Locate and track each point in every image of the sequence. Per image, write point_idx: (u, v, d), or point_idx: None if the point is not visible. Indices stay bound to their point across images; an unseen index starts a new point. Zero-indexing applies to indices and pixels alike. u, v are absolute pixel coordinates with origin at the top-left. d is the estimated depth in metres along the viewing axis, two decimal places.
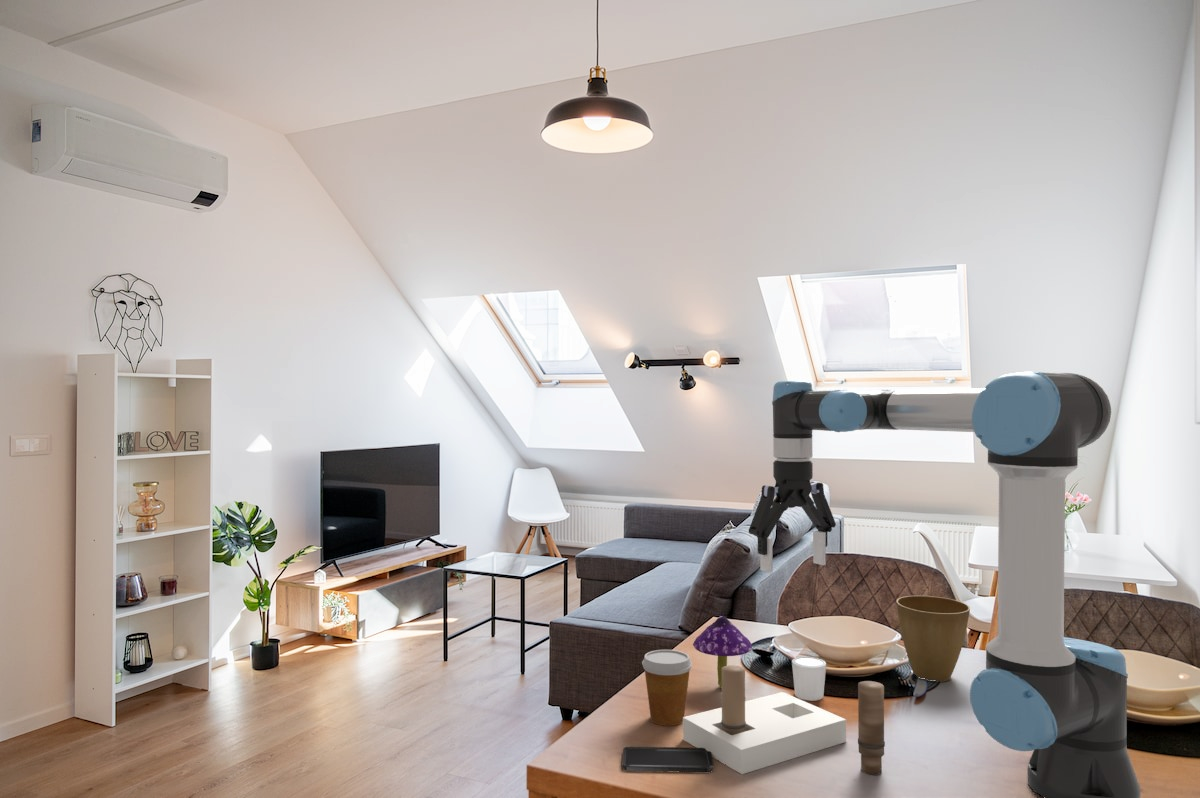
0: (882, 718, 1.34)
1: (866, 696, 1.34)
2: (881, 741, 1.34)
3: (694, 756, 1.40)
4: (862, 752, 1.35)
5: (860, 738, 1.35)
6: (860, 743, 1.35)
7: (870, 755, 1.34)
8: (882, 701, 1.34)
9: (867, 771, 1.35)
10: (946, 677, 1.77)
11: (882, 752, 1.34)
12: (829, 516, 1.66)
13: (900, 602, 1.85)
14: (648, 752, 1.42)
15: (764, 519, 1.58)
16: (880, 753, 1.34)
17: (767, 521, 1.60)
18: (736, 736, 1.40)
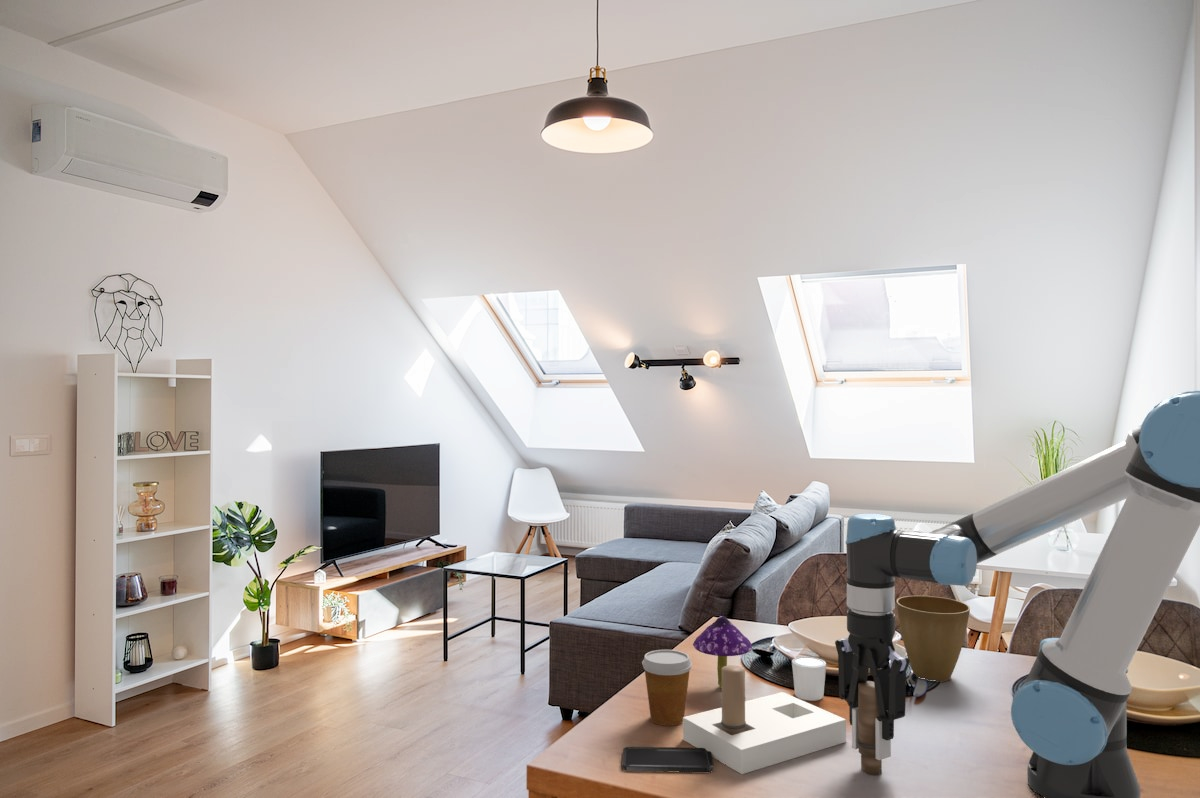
0: None
1: (866, 696, 1.34)
2: None
3: (694, 756, 1.40)
4: (862, 752, 1.35)
5: (860, 738, 1.35)
6: (860, 743, 1.35)
7: (870, 755, 1.34)
8: None
9: (867, 771, 1.35)
10: (946, 677, 1.77)
11: None
12: (890, 703, 1.31)
13: (900, 602, 1.85)
14: (648, 752, 1.42)
15: (841, 679, 1.40)
16: None
17: None
18: (736, 736, 1.40)
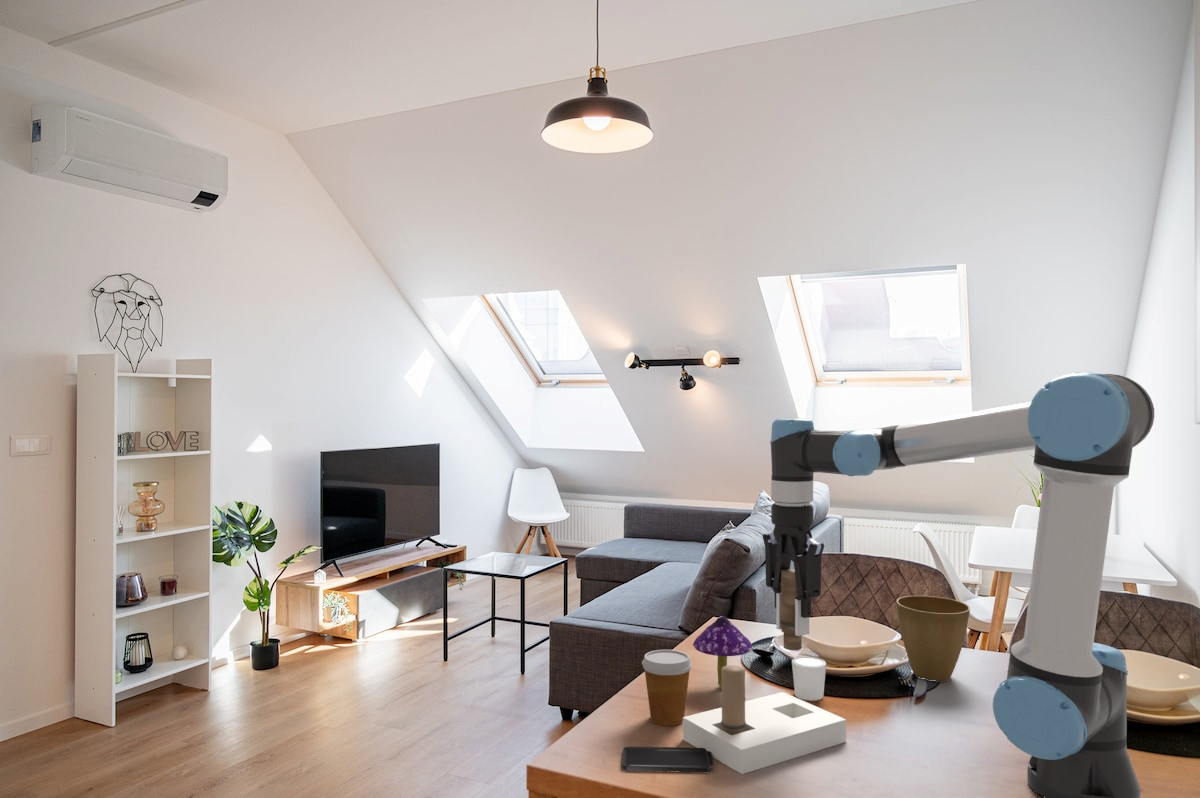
0: None
1: (787, 579, 1.50)
2: None
3: (694, 756, 1.40)
4: (784, 630, 1.50)
5: (782, 618, 1.51)
6: (782, 622, 1.51)
7: (790, 632, 1.49)
8: None
9: (788, 647, 1.50)
10: (946, 677, 1.77)
11: None
12: (807, 583, 1.46)
13: (900, 602, 1.85)
14: (648, 752, 1.42)
15: (768, 569, 1.55)
16: None
17: None
18: (736, 736, 1.40)
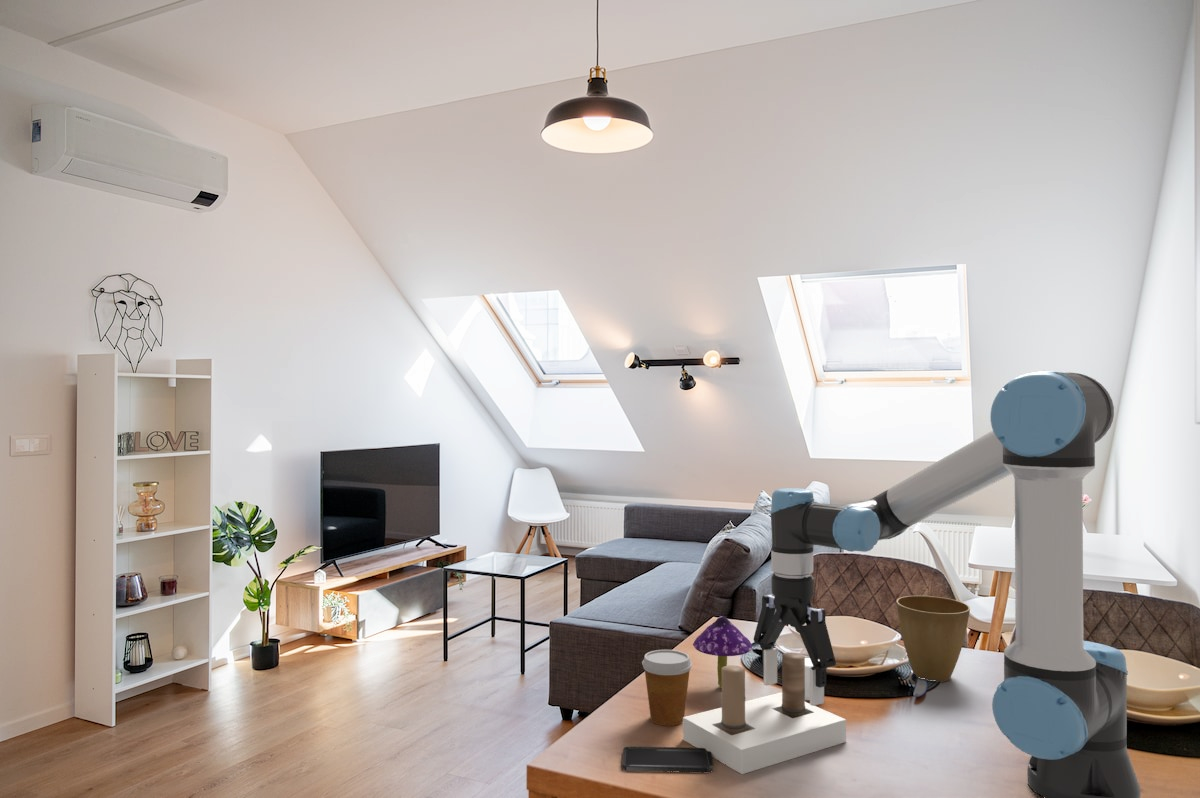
0: (802, 685, 1.50)
1: (789, 665, 1.49)
2: (801, 706, 1.50)
3: (694, 756, 1.40)
4: None
5: (783, 703, 1.51)
6: (783, 708, 1.51)
7: None
8: (803, 670, 1.50)
9: None
10: (946, 677, 1.77)
11: None
12: (819, 653, 1.44)
13: (900, 602, 1.85)
14: (648, 752, 1.42)
15: (759, 627, 1.57)
16: None
17: None
18: (736, 736, 1.40)
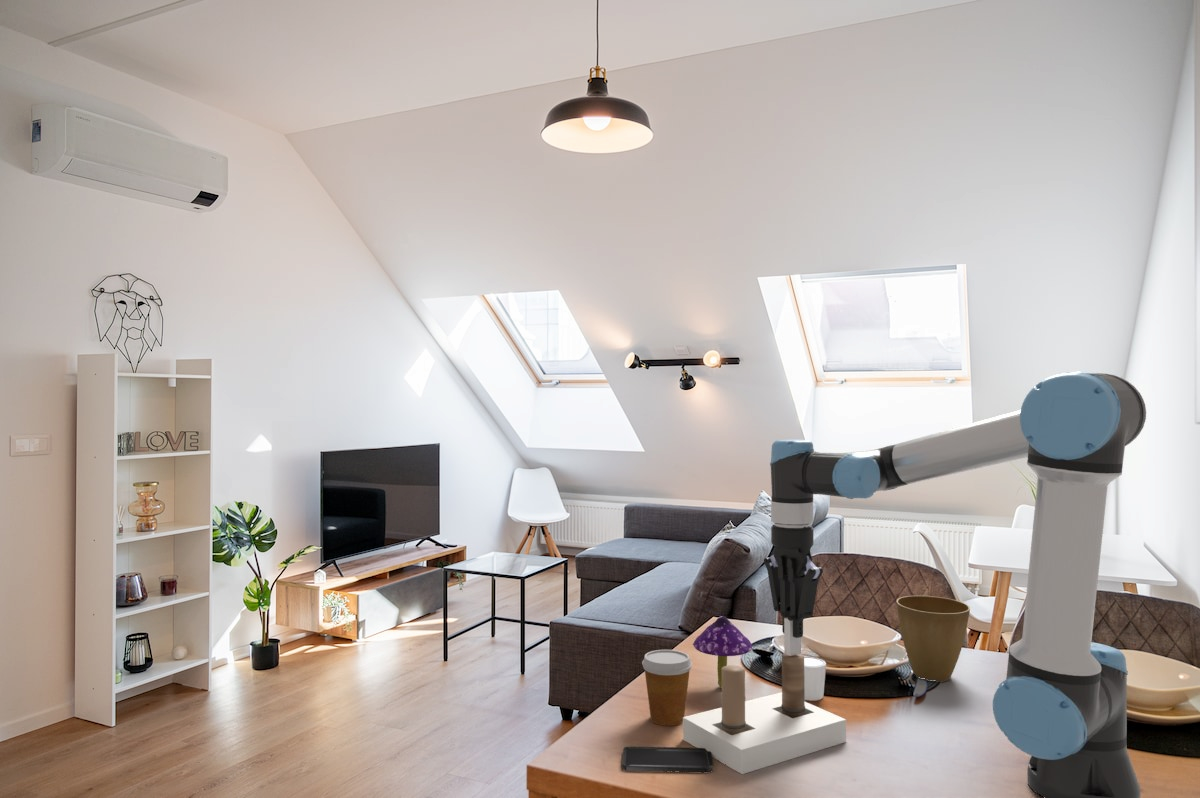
0: (802, 685, 1.50)
1: (788, 665, 1.50)
2: (801, 706, 1.50)
3: (694, 756, 1.40)
4: None
5: (783, 703, 1.51)
6: (783, 708, 1.51)
7: None
8: (802, 670, 1.50)
9: None
10: (946, 677, 1.77)
11: None
12: (801, 604, 1.48)
13: (900, 602, 1.85)
14: (648, 752, 1.42)
15: (773, 592, 1.54)
16: None
17: None
18: (736, 736, 1.40)
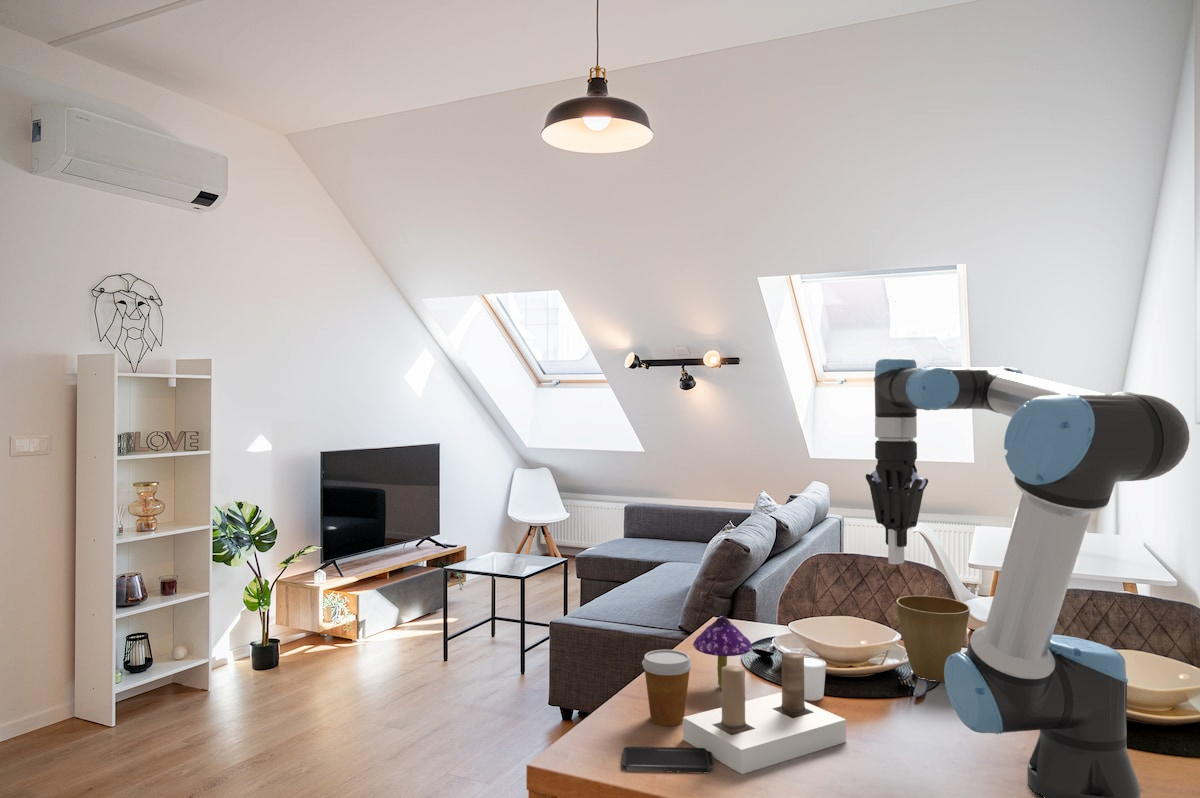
0: (802, 685, 1.50)
1: (788, 665, 1.50)
2: (801, 706, 1.50)
3: (694, 756, 1.40)
4: None
5: (783, 703, 1.51)
6: (783, 708, 1.51)
7: None
8: (802, 670, 1.50)
9: None
10: None
11: None
12: (906, 514, 1.55)
13: (900, 602, 1.85)
14: (648, 752, 1.42)
15: (876, 506, 1.61)
16: None
17: None
18: (736, 736, 1.40)
